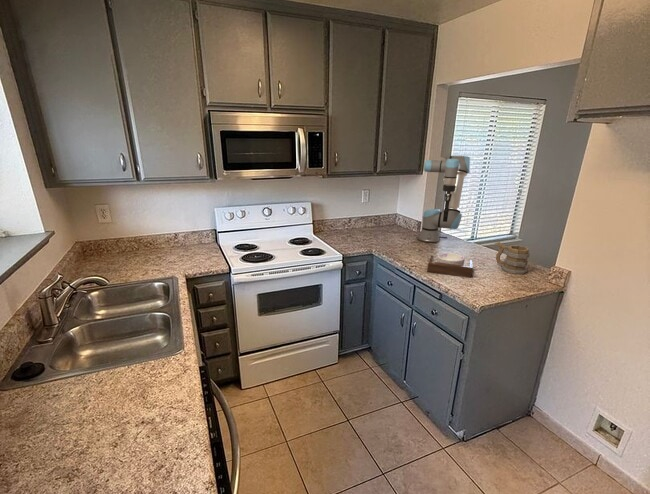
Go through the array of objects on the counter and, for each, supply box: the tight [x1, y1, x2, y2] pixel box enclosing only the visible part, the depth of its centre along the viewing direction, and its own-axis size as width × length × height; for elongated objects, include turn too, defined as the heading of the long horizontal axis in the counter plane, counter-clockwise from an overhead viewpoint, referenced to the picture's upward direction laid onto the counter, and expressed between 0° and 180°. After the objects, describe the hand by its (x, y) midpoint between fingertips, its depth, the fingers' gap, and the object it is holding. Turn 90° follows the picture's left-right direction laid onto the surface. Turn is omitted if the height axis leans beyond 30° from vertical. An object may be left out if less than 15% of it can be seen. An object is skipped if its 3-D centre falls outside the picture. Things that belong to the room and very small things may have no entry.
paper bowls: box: [436, 252, 465, 266], centre depth 212 cm, size 15×15×8 cm
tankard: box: [494, 241, 531, 275], centre depth 212 cm, size 20×13×15 cm, turn 42°
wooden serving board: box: [427, 255, 474, 279], centre depth 211 cm, size 17×24×6 cm
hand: (444, 221), depth 233 cm, fingers closed
